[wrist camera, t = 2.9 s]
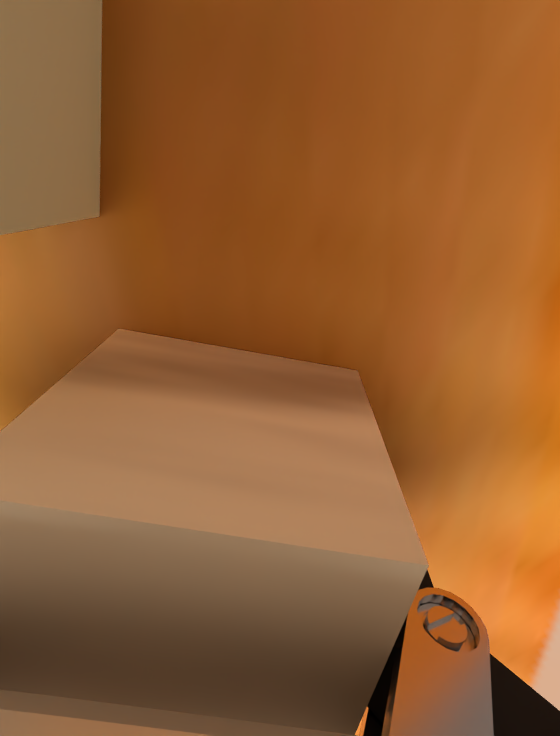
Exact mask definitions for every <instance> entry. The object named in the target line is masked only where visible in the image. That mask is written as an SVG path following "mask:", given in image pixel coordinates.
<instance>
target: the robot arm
mask: <svg viewBox="0 0 560 736" xmlns="http://www.w3.org/2000/svg"><path fill="white" fill-rule="evenodd" d="M0 736H356V735H349V734H341V733H334V732H326V731H319V730H311V729H304V728H296V727H289V726H282V725H274V724H267V723H259V722H252V721H244V720H237V719H229V718H222V717H214V716H206V715H198V714H190V713H183V712H175V711H167V710H159V709H152V708H144V707H136V706H128V705H120V704H112V703H105V702H97V701H89V700H81V699H73V698H65V697H57V696H49V695H41V694H33V693H25V692H16V691H8V690H0ZM359 736H560V711H559V710H558V709H557V708H555V707H554V706H553V705H552V704H550V703H549V702H548V701H547V700H546V699H544V698H543V697H542V696H541V695H540V694H538V693H537V692H536V691H535V690H533V689H532V688H531V687H530V686H529V685H527V684H526V683H525V682H524V681H523V680H521V679H520V678H519V677H518V676H516V675H515V674H514V673H513V672H512V671H510V670H509V669H508V668H507V667H506V666H504V665H503V664H502V663H501V662H499V661H498V660H497V659H496V658H495V657H493V656H492V655H491V654H490V651H489V638H488V634H487V629H486V627H485V626H484V624H483V622H482V620H481V618H480V617H479V616H478V614H477V613H476V612H475V611H474V610H473V608H472V607H471V606H469V605H468V604H467V603H466V602H465V601H464V600H462V599H461V598H459V597H458V596H456V595H454V594H452V593H451V592H448V591H445V590H442V589H439V588H434V587H433V584H432V582H431V579H430V576H429V573H428V570H427V571H426V573H425V575H424V577H423V580H422V582H421V584H420V587H419V589H418V591H417V593H416V596H415V598H414V600H413V603H412V605H411V607H410V609H409V612H408V614H407V616H406V619H405V621H404V623H403V625H402V628H401V630H400V632H399V634H398V637H397V639H396V641H395V644H394V646H393V648H392V650H391V653H390V655H389V657H388V660H387V662H386V664H385V666H384V669H383V671H382V673H381V676H380V678H379V680H378V682H377V685H376V687H375V689H374V691H373V694H372V696H371V698H370V701H369V703H368V705H367V707H366V710H365V712H364V714H363V719H362V723H361V728H360V733H359Z"/></svg>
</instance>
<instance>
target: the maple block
mask: <svg viewBox="0 0 560 736" xmlns="http://www.w3.org/2000/svg"><path fill="white" fill-rule="evenodd" d="M428 566H429V565H428V562H427V559H426V556H425V554H424V551H423V548H422V545H421V543H420V540H419V537H418V534H417V532H416V529H415V526H414V523H413V521H412V518H411V515H410V512H409V510H408V507H407V504H406V502H405V499H404V496H403V493H402V491H401V488H400V485H399V482H398V480H397V477H396V474H395V471H394V469H393V466H392V463H391V460H390V458H389V455H388V452H387V449H386V447H385V444H384V441H383V438H382V436H381V433H380V430H379V427H378V425H377V422H376V419H375V416H374V414H373V411H372V408H371V406H370V403H369V400H368V397H367V395H366V392H365V389H364V386H363V384H362V381H361V378H360V375H359V373H358V370H352V369H346V368H341V367H335V366H329V365H324V364H318V363H312V362H307V361H301V360H295V359H290V358H284V357H278V356H272V355H267V354H261V353H255V352H250V351H244V350H238V349H233V348H227V347H221V346H216V345H210V344H204V343H198V342H193V341H187V340H181V339H176V338H170V337H164V336H159V335H153V334H147V333H142V332H136V331H130V330H124V329H118V330H117V331H115V332H114V333H113V334H112V335H111V336H110V337H108V338H107V339H106V340H105V341H104V342H103V343H102V344H100V345H99V346H98V347H97V348H96V349H95V350H94V351H92V352H91V353H90V354H89V355H88V356H87V357H85V358H84V359H83V360H82V361H81V362H80V363H79V364H77V365H76V366H75V367H74V368H73V369H72V370H70V371H69V372H68V373H67V374H66V375H65V376H64V377H62V378H61V379H60V380H59V381H58V382H57V383H56V384H54V385H53V386H52V387H51V388H50V389H49V390H47V391H46V392H45V393H44V394H43V395H42V396H41V397H39V398H38V399H37V400H36V401H35V402H34V403H32V404H31V405H30V406H29V407H28V408H27V409H26V410H24V411H23V412H22V413H21V414H20V415H19V416H18V417H16V418H15V419H14V420H13V421H12V422H11V423H9V424H8V425H7V426H6V427H5V428H4V429H3V430H1V431H0V690H8V691H16V692H25V693H33V694H41V695H49V696H57V697H65V698H73V699H81V700H89V701H97V702H105V703H112V704H120V705H128V706H136V707H144V708H152V709H159V710H167V711H175V712H183V713H190V714H198V715H206V716H214V717H222V718H229V719H237V720H244V721H252V722H259V723H267V724H274V725H282V726H289V727H296V728H304V729H311V730H319V731H326V732H334V733H341V734H349V735H355V733H356V730H357V728H358V726H359V723H360V721H361V719H362V717H363V714H364V712H365V710H366V707H367V705H368V703H369V701H370V698H371V696H372V694H373V691H374V689H375V687H376V685H377V682H378V680H379V678H380V676H381V673H382V671H383V669H384V666H385V664H386V662H387V660H388V657H389V655H390V653H391V650H392V648H393V646H394V644H395V641H396V639H397V637H398V634H399V632H400V630H401V628H402V625H403V623H404V621H405V619H406V616H407V614H408V612H409V609H410V607H411V605H412V603H413V600H414V598H415V596H416V593H417V591H418V589H419V587H420V584H421V582H422V580H423V577H424V575H425V573H426V571H427V568H428Z"/></svg>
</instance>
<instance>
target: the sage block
mask: <svg viewBox="0 0 560 736" xmlns="http://www.w3.org/2000/svg"><path fill="white" fill-rule="evenodd" d="M101 64H102V0H0V235H4V234H9V233H15V232H20V231H25V230H31V229H36V228H42V227H47V226H52V225H58V224H63V223H68V222H74V221H79V220H84V219H90V218H95V217H100V147H101Z"/></svg>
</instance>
